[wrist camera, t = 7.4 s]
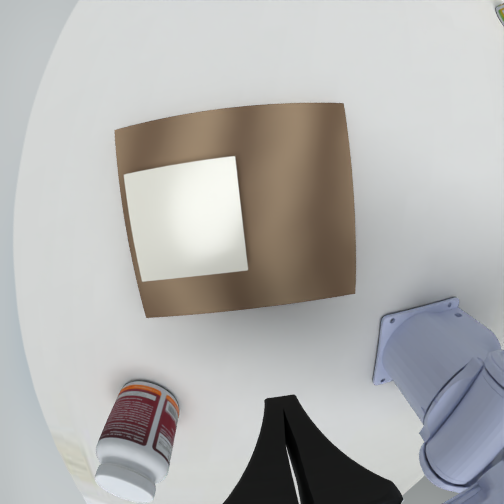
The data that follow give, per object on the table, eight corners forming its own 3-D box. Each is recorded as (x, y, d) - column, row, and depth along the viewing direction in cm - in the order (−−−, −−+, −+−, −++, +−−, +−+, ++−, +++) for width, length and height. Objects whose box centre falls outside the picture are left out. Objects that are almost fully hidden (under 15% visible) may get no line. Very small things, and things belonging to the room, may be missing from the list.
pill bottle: (112, 398, 23) (76, 478, 13) (136, 368, 22) (95, 460, 12) (162, 428, 25) (143, 511, 14) (192, 402, 24) (177, 498, 13)
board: (338, 106, 18) (343, 103, 17) (350, 288, 21) (355, 293, 20) (119, 132, 17) (114, 130, 16) (149, 312, 21) (146, 317, 20)
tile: (235, 156, 16) (123, 174, 16) (248, 270, 18) (142, 281, 17) (235, 158, 17) (133, 174, 17) (247, 262, 19) (149, 273, 19)
